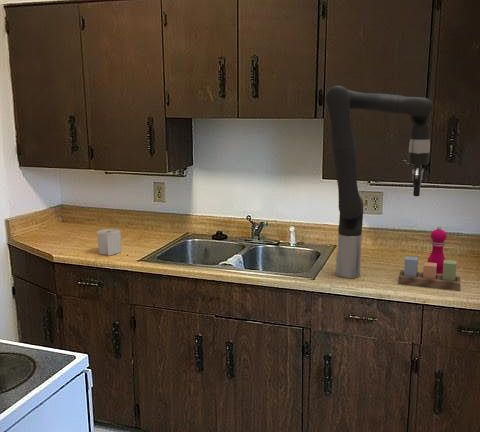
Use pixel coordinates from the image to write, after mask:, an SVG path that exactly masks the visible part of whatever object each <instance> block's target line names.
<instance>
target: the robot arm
mask: <svg viewBox="0 0 480 432" xmlns="http://www.w3.org/2000/svg"><path fill="white" fill-rule="evenodd" d="M324 100H325V103H326V107H327V110H328V115H329V119H330V128H331V129H330V130H331V132H330V135H331V136H330V144H331V155H332V161H333V166H334V167H333V168H334V173H335V177H336V181H337V189H338V193H337V194H338V211H339V221H338V228H337V229H338V231H337V232H338V234H337V235H338V236H337V237H338V238H337V252H336V257H335V258H336V259H335V264H336V265H335V276H337V277H340V278H345V279H357V278H359V277H360V276H361V266H362V265H361V264H362V263H361V261H362V238H363V225H364V224H363V221H364V220H363V219H364V200H363V199H362V197H361V196H360V192H359V188H358V155H357V154H358V153H357V146H356V140H355V136H354V135H355V134H354V130H353V127H352V123H351V111H350V110H353V109H354V110H366V111H373V112H377V113H384V114H393V115H407V116H410V120H411V127H410V139H409V144H408V145H409V146H408V161H407V162H408V164H409V165H410V164H411V165H414V167H412V170H411V171H412V172H411V173H412V182H413V183H412V185H413V194H412V195H413V196H414V197H419V196H420V195H421V194H420V192H421V191H420V190H421V186H422V181H423V174H424V169H425V168H423V165H428V164H429V163H430V152H431V151H430V150H431V141H430V140H431V139H430V138H431V126H430V115H431V114H432V112H433V110H434V104H433V102H432V100H431V99H430V98H427V97H420V96H419V97H418V96H417V97H416V96H405V95H399V94H392V93H372V92H371V93H370V92H361V91H355V90H350V89H347V88H346V87H345V86H342V85H334V86H332V87H330V88H328V90H327V92H326V94H325V99H324Z"/></svg>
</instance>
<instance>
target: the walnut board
mask: <svg viewBox="0 0 480 432" xmlns="http://www.w3.org/2000/svg"><path fill="white" fill-rule="evenodd" d="M442 277H443V274H436V279H429V278H423V271H417V277H410V276H404V269H400V272H399V274H398V281H397V282H398V283H397V284H398V285H402V286H403V285H404V286H411V287H412V286H413V287H421V288H431V289H436V290H437V289H438V290H445V291H446V290H447V291H454V292H455V291H456V292H457V291H458V292H460V290H461V276H460V275H456V279H455V281H448V280H442Z"/></svg>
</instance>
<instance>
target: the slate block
mask: <svg viewBox="0 0 480 432" xmlns="http://www.w3.org/2000/svg"><path fill="white" fill-rule="evenodd" d="M403 264H404V265H403V267H404V268H403V270H404V276H410V277H417V272H418V268H419V267H418V264H419V257H418V256H405V258H404V263H403Z"/></svg>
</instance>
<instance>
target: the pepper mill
mask: <svg viewBox="0 0 480 432" xmlns="http://www.w3.org/2000/svg"><path fill="white" fill-rule="evenodd" d="M430 239H431V245H432V249H431V252H430V255H429V256H428V259H427V261H426V262H429V263H437V269H436V274H443V264H444V260H446V258H445V255H444V247H445V241H446V240H447V233H446V231H444V230H443V229H442V226H441V225H438V226H436V229H433V230H432V231H431V234H430Z"/></svg>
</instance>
